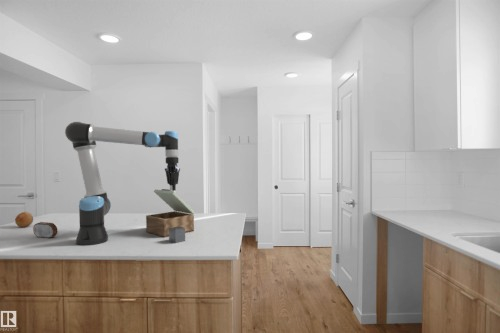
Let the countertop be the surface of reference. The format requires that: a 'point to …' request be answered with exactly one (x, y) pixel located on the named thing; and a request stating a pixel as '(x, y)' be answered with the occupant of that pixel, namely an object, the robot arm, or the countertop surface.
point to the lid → (174, 201)
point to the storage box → (169, 222)
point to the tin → (45, 230)
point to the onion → (24, 219)
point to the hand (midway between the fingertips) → (172, 195)
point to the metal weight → (176, 234)
